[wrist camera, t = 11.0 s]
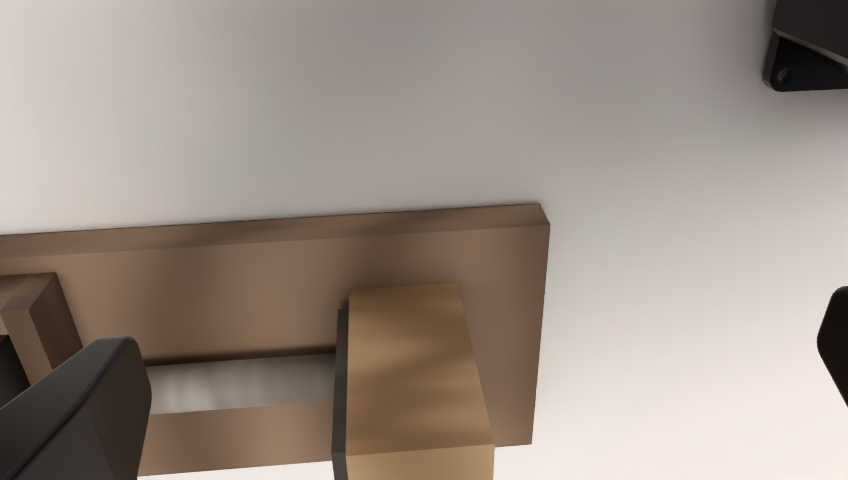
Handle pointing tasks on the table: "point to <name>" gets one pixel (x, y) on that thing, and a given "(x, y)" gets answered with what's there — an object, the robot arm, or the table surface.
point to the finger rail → (304, 334)
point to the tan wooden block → (10, 372)
